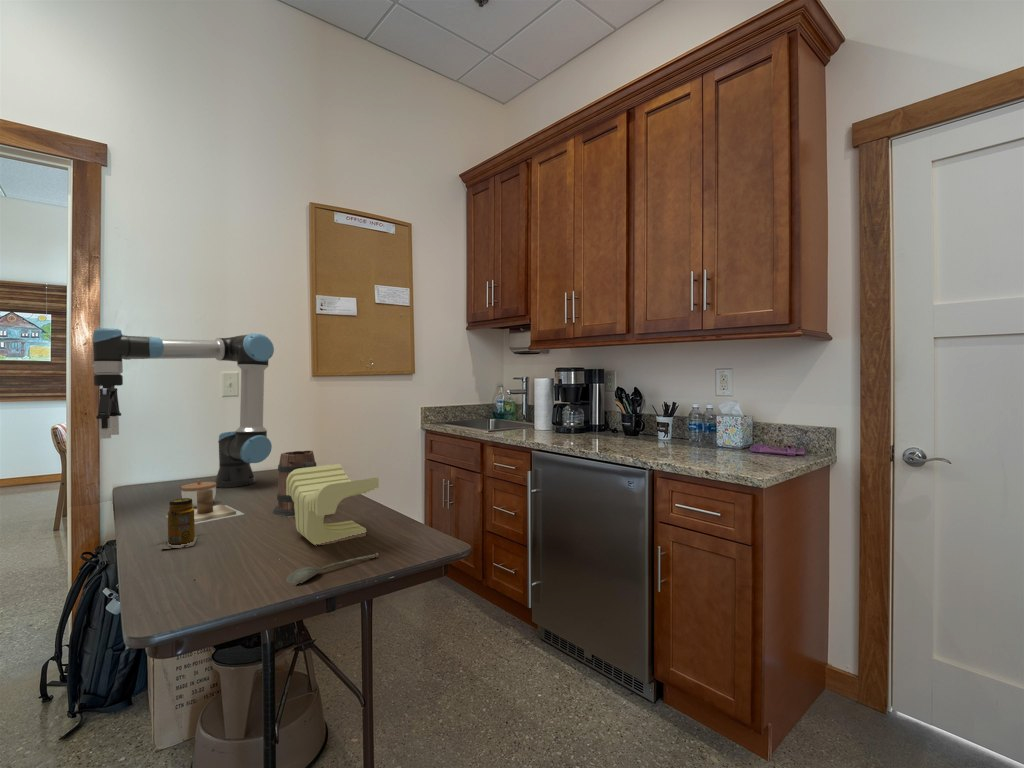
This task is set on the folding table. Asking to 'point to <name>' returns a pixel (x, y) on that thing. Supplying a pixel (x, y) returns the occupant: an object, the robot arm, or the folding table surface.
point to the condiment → (181, 521)
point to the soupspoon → (314, 571)
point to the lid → (209, 507)
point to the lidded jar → (192, 489)
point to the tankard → (285, 467)
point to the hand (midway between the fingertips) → (109, 436)
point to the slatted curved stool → (324, 501)
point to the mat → (221, 517)
